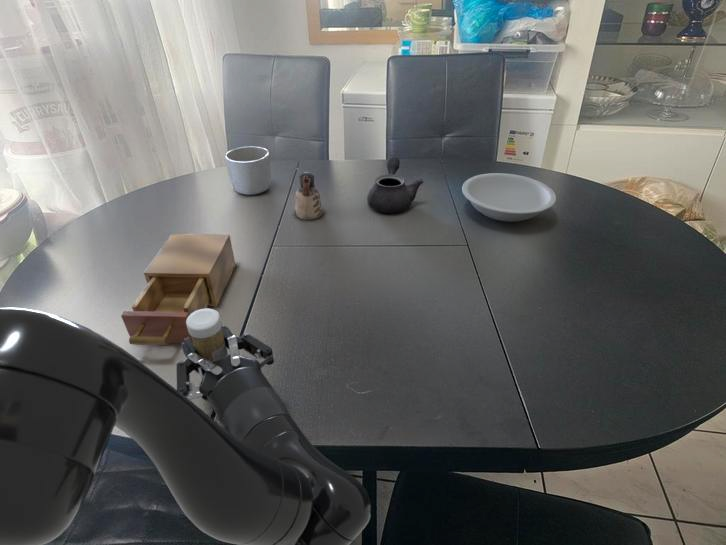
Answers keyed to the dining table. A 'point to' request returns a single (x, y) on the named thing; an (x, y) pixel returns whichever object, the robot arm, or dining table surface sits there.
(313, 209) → the figurine
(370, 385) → the dining table surface
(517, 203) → the soup bowl
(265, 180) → the planter
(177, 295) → the drawer
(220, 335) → the sprinkles bottle
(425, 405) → the dining table surface
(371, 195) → the teapot
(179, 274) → the cabinet
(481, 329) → the dining table surface
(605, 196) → the dining table surface
